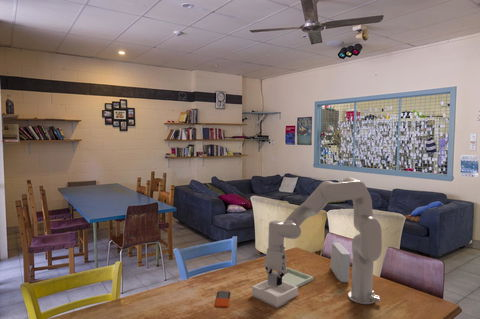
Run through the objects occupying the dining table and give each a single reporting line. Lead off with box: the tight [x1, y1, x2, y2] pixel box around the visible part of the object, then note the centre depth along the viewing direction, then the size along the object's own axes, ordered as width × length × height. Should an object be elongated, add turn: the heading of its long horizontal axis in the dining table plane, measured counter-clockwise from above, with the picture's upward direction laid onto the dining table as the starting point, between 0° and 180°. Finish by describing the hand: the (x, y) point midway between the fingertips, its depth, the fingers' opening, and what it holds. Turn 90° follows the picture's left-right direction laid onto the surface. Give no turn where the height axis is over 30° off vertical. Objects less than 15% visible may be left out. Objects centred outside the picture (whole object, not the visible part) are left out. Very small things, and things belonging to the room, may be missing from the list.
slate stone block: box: [267, 271, 282, 288], centre depth 162 cm, size 5×5×5 cm
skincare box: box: [329, 242, 351, 283], centre depth 189 cm, size 21×6×16 cm, turn 179°
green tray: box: [266, 266, 314, 289], centre depth 180 cm, size 18×18×2 cm
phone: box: [213, 290, 231, 309], centre depth 159 cm, size 6×1×15 cm
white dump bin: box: [251, 278, 299, 309], centre depth 162 cm, size 16×16×5 cm
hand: (274, 282), depth 162 cm, fingers closed on slate stone block, 5 cm apart
